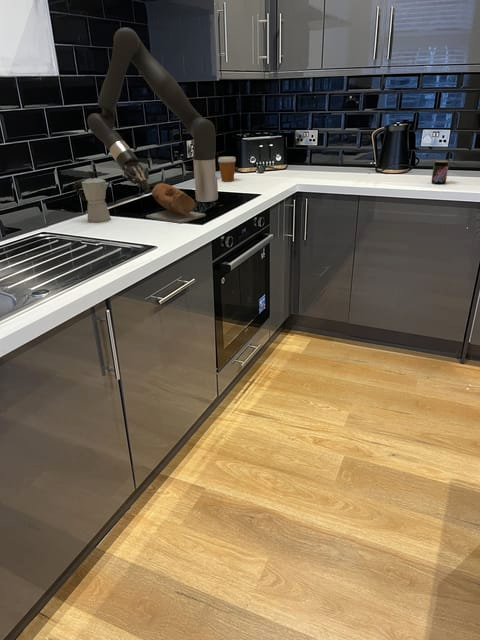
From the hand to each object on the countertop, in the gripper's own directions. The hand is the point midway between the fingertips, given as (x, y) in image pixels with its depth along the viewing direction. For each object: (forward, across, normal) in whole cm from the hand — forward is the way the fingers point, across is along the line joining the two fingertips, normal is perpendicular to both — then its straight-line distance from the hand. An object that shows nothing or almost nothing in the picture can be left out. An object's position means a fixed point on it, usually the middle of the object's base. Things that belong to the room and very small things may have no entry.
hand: (148, 189), depth 190 cm
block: (+4, +4, -1) cm, 6 cm away
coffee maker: (+1, -20, +12) cm, 23 cm away
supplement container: (+61, +119, -47) cm, 142 cm away
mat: (+16, 0, -4) cm, 17 cm away
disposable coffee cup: (-7, +74, +20) cm, 77 cm away
